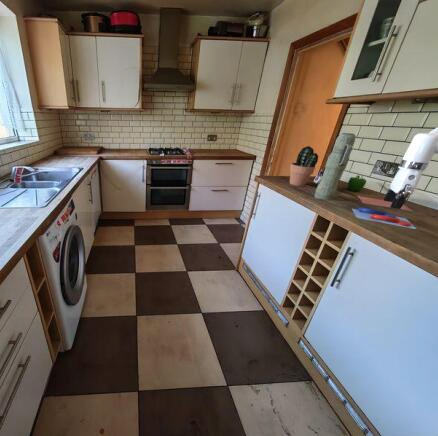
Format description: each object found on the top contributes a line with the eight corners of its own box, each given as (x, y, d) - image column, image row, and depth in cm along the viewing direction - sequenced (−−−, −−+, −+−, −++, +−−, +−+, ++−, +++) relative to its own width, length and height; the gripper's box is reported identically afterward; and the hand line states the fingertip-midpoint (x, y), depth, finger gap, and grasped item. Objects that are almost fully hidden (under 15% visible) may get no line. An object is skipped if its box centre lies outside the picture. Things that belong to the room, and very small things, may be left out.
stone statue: (321, 201, 125) (347, 134, 110) (309, 194, 135) (331, 132, 120) (338, 202, 124) (366, 134, 109) (324, 195, 135) (348, 132, 120)
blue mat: (405, 219, 106) (405, 218, 106) (416, 230, 96) (417, 229, 96) (351, 209, 116) (351, 208, 115) (356, 218, 105) (356, 217, 105)
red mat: (404, 204, 125) (404, 203, 124) (413, 212, 115) (413, 211, 114) (357, 196, 134) (357, 196, 134) (362, 203, 124) (362, 202, 123)
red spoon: (408, 223, 101) (410, 219, 100) (412, 227, 97) (414, 223, 96) (367, 216, 107) (369, 212, 106) (370, 219, 104) (372, 215, 103)
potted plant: (284, 184, 153) (295, 146, 142) (286, 180, 163) (297, 144, 152) (308, 188, 146) (322, 148, 135) (309, 183, 156) (322, 146, 145)
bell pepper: (353, 188, 149) (360, 173, 145) (364, 192, 141) (372, 177, 137) (341, 188, 149) (347, 173, 144) (352, 192, 141) (358, 176, 137)
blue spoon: (393, 216, 108) (395, 212, 107) (396, 219, 104) (399, 215, 103) (356, 209, 114) (358, 205, 113) (358, 212, 111) (360, 208, 110)
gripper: (436, 171, 84) (410, 213, 91) (416, 163, 97) (396, 200, 105) (408, 168, 87) (385, 208, 95) (393, 161, 101) (374, 197, 108)
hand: (391, 204), depth 100 cm, fingers open, 9 cm apart
